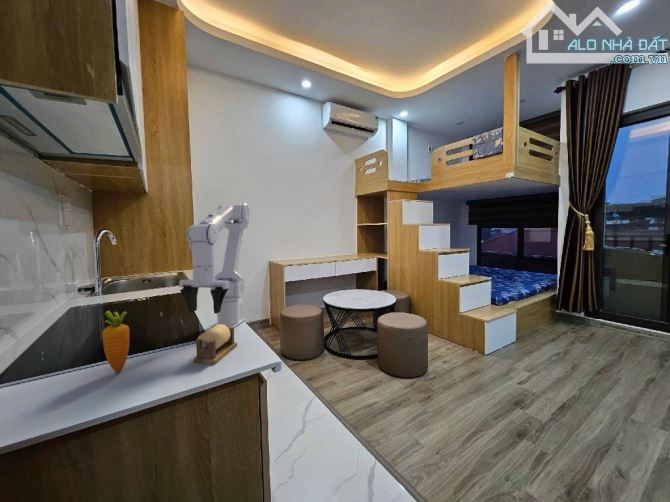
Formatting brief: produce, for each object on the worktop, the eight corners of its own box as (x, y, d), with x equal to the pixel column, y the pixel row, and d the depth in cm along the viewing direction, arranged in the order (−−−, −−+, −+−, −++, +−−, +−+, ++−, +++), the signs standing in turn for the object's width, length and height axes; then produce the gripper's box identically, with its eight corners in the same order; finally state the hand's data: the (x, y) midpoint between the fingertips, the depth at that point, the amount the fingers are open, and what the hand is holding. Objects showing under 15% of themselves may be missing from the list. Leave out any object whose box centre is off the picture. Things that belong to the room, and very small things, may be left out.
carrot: (136, 368, 68) (133, 307, 67) (119, 379, 63) (115, 313, 62) (118, 367, 69) (114, 307, 68) (99, 377, 64) (94, 313, 63)
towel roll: (205, 360, 71) (189, 346, 72) (226, 344, 81) (211, 332, 82) (217, 345, 70) (200, 330, 71) (236, 330, 80) (222, 318, 81)
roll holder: (193, 362, 71) (192, 341, 71) (218, 344, 82) (217, 326, 82) (215, 364, 70) (214, 342, 70) (237, 345, 81) (236, 327, 81)
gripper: (171, 267, 79) (173, 314, 80) (219, 268, 76) (220, 317, 78) (187, 263, 86) (189, 307, 87) (232, 265, 83) (233, 310, 84)
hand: (205, 311), depth 83 cm, fingers open, 7 cm apart
